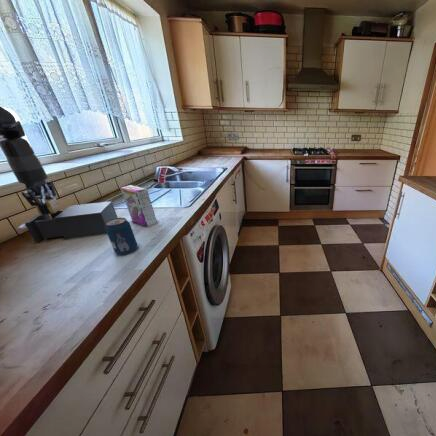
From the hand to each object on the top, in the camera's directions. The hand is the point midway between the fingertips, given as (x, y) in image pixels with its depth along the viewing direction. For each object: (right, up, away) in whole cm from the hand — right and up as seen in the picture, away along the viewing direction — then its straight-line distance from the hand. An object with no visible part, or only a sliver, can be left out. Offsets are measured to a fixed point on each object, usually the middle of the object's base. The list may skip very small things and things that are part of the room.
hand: (50, 211), depth 88 cm
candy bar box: (+28, -5, +13) cm, 32 cm away
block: (0, 0, 0) cm, 0 cm away
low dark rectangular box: (+10, -8, +8) cm, 15 cm away
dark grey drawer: (-1, -9, +4) cm, 9 cm away
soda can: (+35, -15, -6) cm, 38 cm away
